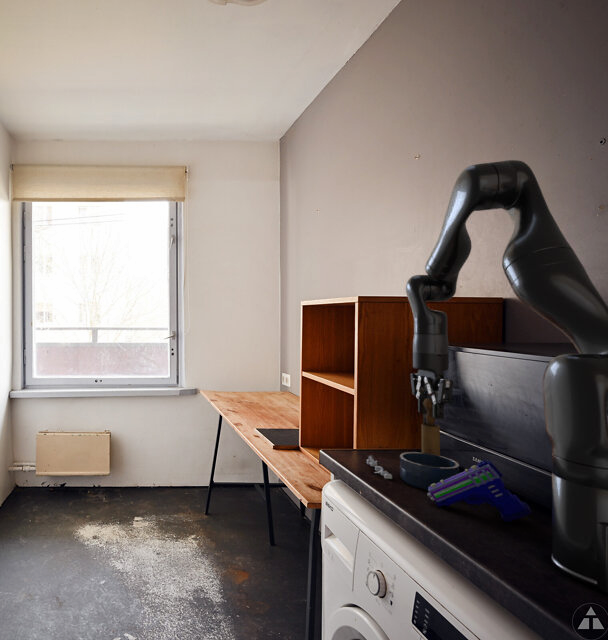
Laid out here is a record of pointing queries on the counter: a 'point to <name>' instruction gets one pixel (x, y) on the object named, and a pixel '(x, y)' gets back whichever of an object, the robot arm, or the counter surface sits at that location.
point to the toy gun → (479, 491)
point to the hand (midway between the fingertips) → (430, 415)
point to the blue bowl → (426, 469)
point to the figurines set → (378, 468)
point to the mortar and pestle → (430, 431)
